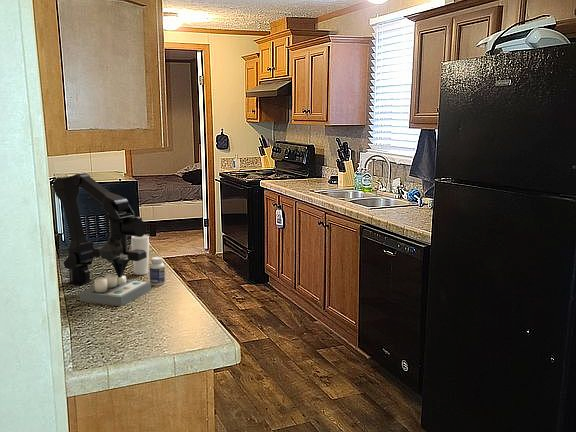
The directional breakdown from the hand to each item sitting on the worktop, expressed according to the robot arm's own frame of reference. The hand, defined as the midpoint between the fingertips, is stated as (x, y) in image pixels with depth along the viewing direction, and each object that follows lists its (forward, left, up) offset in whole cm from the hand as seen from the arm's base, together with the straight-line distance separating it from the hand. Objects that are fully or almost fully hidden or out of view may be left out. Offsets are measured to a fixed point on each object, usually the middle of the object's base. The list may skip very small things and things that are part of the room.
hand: (120, 277), depth 191 cm
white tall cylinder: (-5, +21, -5) cm, 23 cm away
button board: (+2, -6, -5) cm, 8 cm away
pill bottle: (+8, +11, -5) cm, 15 cm away
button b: (0, -5, -2) cm, 6 cm away
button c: (0, 0, -4) cm, 4 cm away
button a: (0, -11, -2) cm, 11 cm away
